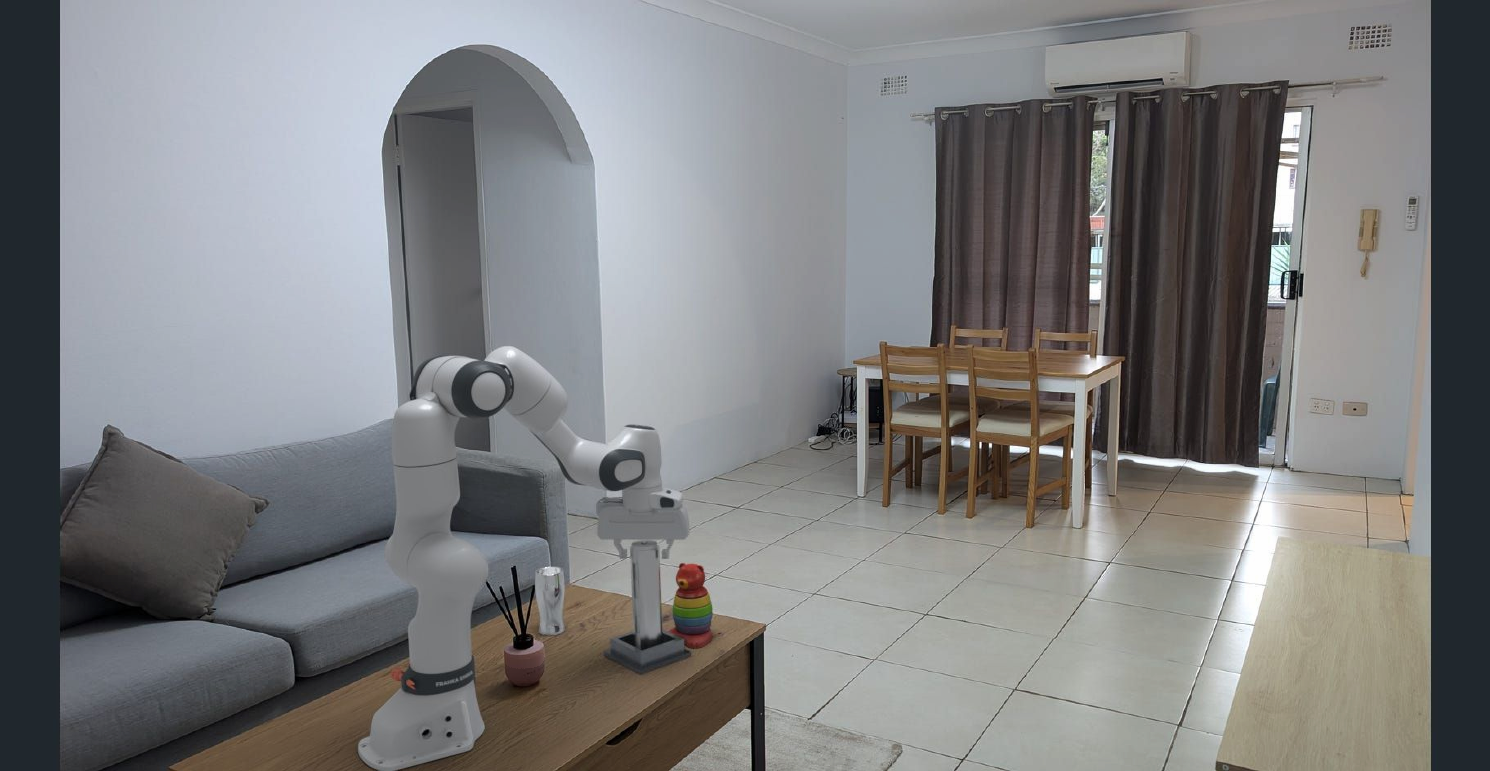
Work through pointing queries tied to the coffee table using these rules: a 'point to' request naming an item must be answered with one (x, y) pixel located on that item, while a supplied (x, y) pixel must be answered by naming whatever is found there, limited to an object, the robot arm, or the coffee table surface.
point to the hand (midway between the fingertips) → (644, 558)
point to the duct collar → (646, 652)
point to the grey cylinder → (646, 594)
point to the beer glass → (550, 599)
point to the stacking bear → (692, 607)
